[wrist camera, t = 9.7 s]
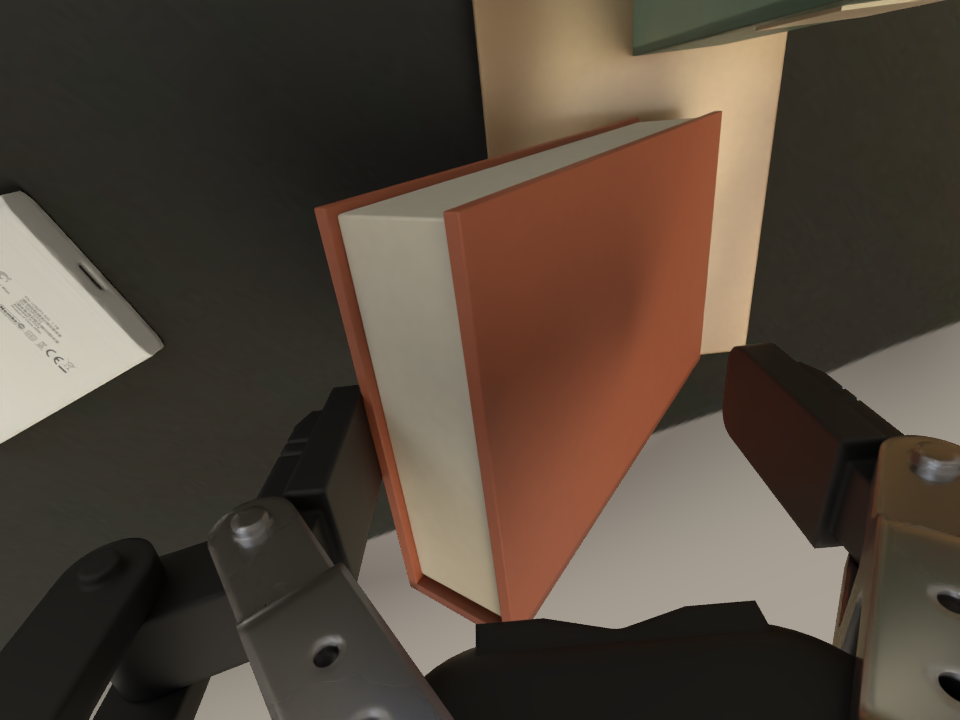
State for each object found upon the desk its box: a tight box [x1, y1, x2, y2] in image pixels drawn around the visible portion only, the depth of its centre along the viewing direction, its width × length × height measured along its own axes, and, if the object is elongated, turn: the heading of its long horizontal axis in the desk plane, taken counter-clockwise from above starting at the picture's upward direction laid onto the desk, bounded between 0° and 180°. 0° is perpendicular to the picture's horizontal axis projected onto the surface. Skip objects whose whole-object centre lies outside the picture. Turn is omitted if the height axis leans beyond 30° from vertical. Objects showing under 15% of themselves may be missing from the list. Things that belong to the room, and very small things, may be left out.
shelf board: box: [472, 0, 788, 355], centre depth 19 cm, size 11×24×1 cm, turn 7°
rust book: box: [314, 111, 722, 624], centre depth 15 cm, size 3×10×15 cm
